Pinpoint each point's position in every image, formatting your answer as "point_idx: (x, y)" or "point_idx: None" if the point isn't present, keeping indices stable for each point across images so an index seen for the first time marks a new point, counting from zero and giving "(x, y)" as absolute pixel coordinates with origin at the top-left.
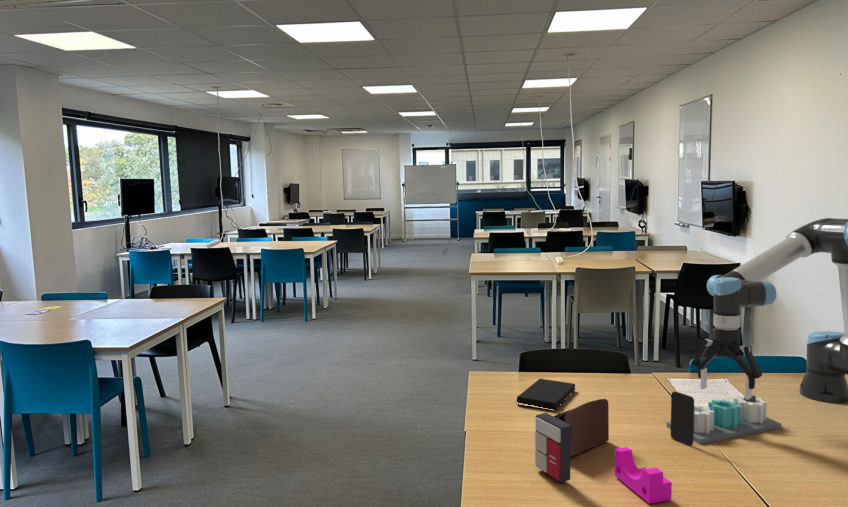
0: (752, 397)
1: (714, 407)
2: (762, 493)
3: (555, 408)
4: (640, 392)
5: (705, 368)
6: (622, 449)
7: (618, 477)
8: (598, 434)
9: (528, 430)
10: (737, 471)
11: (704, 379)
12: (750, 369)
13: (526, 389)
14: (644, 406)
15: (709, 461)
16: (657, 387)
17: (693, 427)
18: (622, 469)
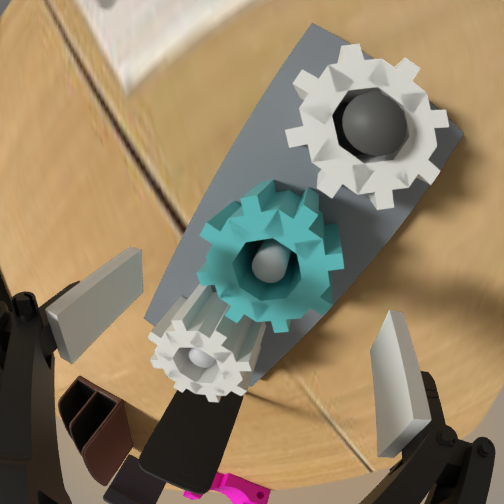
0: (390, 138)
1: (238, 321)
2: (374, 465)
3: (12, 310)
4: (24, 99)
5: (59, 329)
6: (190, 497)
7: None
8: (117, 426)
9: (54, 387)
10: (343, 439)
11: (110, 305)
12: (422, 493)
13: None
14: (56, 193)
15: (292, 429)
16: (42, 29)
17: (232, 428)
18: None
